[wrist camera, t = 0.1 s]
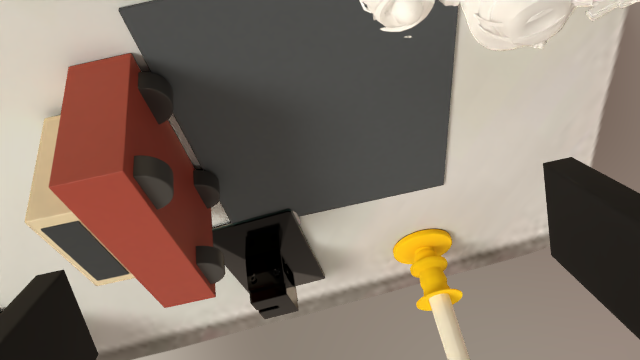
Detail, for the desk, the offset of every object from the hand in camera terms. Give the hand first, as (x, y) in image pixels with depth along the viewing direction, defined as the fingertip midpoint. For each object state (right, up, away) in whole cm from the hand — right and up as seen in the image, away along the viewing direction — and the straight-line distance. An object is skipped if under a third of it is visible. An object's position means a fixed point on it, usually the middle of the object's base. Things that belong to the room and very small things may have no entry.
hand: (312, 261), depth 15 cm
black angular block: (-4, -4, +30) cm, 31 cm away
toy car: (-10, +4, +17) cm, 21 cm away
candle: (+9, -3, +33) cm, 35 cm away
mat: (0, +6, +18) cm, 19 cm away
